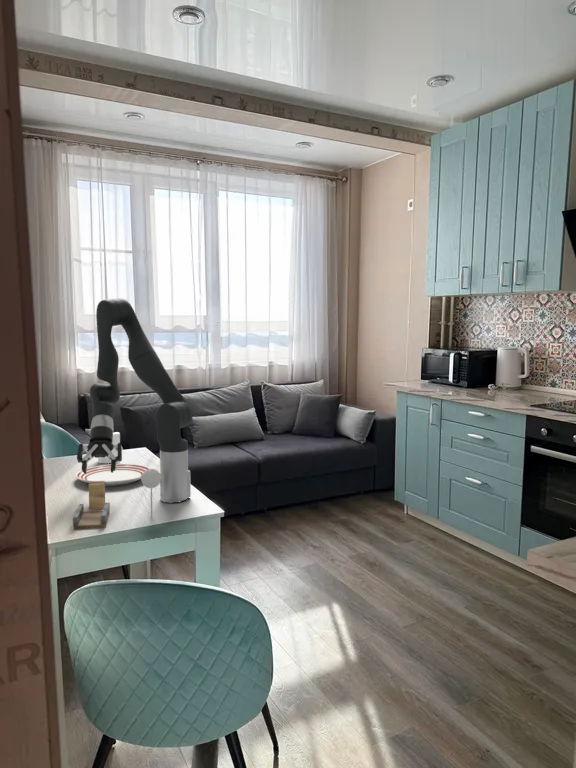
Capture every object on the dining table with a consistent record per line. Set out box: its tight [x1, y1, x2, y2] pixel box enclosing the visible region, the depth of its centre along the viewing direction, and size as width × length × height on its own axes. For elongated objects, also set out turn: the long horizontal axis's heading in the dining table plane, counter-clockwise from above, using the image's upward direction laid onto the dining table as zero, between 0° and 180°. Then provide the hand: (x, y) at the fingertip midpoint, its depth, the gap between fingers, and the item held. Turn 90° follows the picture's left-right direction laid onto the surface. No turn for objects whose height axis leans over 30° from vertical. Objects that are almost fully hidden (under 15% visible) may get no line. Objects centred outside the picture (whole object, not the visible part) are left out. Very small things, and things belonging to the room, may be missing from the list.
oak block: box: [88, 481, 106, 510], centre depth 179 cm, size 4×4×8 cm
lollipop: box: [140, 468, 162, 517], centre depth 171 cm, size 6×6×15 cm
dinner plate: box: [74, 463, 151, 487], centre depth 210 cm, size 28×27×3 cm
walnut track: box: [72, 502, 111, 530], centre depth 167 cm, size 12×9×4 cm
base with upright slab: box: [97, 431, 121, 465], centre depth 236 cm, size 9×9×12 cm
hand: (98, 471), depth 184 cm, fingers open, 8 cm apart
